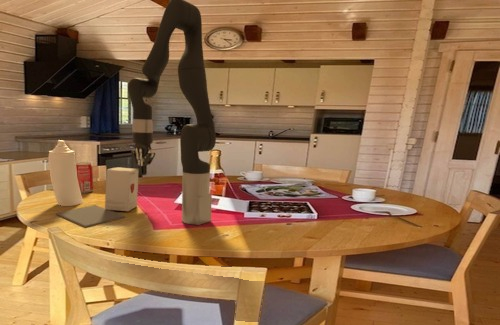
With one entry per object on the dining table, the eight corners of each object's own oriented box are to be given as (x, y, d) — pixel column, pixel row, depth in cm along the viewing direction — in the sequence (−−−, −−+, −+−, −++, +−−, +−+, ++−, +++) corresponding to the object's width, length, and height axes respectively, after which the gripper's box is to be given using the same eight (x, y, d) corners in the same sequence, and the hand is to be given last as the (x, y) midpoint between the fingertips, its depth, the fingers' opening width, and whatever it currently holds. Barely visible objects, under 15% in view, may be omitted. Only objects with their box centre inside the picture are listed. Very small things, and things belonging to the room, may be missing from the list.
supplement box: (128, 211, 116) (130, 171, 115) (104, 210, 116) (105, 169, 115) (137, 206, 125) (139, 168, 124) (115, 204, 125) (116, 166, 124)
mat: (125, 217, 111) (125, 215, 111) (85, 227, 100) (85, 225, 100) (94, 206, 123) (94, 204, 123) (55, 214, 111) (55, 212, 111)
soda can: (96, 191, 146) (95, 163, 144) (81, 194, 140) (80, 165, 138) (87, 189, 150) (86, 161, 148) (72, 191, 144) (71, 163, 142)
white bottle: (81, 207, 121) (79, 141, 118) (48, 209, 117) (45, 141, 114) (84, 199, 132) (82, 139, 128) (54, 201, 128) (51, 138, 124)
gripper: (161, 132, 124) (161, 176, 126) (140, 130, 131) (140, 171, 134) (145, 132, 118) (145, 178, 120) (124, 130, 125) (124, 173, 128)
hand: (142, 174), depth 127 cm, fingers closed
